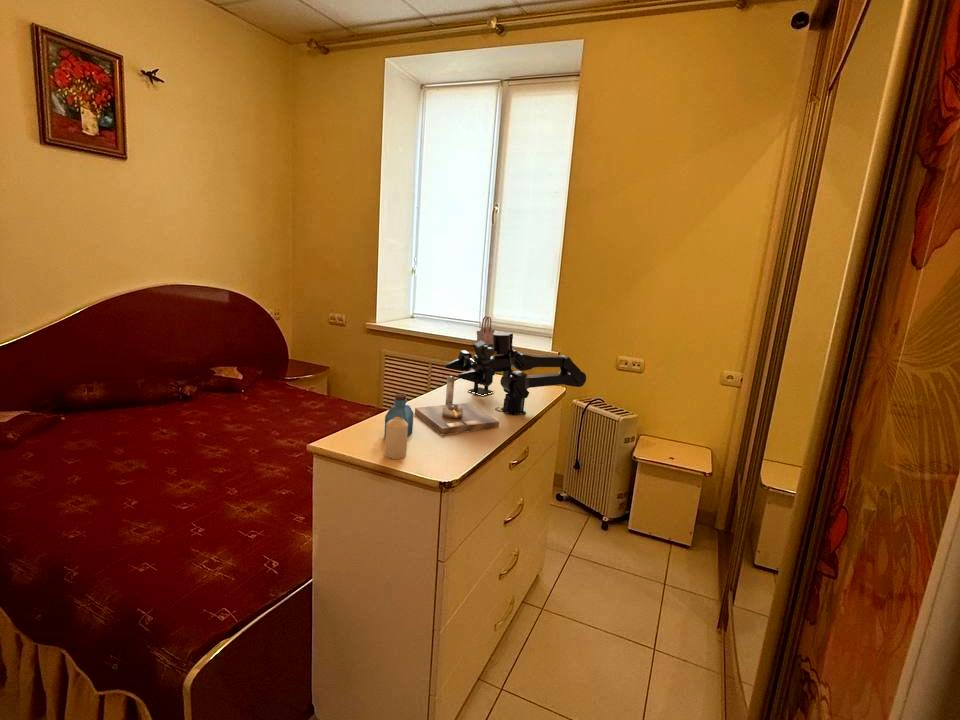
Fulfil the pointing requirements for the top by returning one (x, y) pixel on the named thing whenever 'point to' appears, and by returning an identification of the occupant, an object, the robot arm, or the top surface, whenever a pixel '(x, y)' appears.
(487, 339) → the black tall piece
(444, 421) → the stand
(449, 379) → the metal post and dome
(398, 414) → the perfume bottle
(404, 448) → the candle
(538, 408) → the top surface
